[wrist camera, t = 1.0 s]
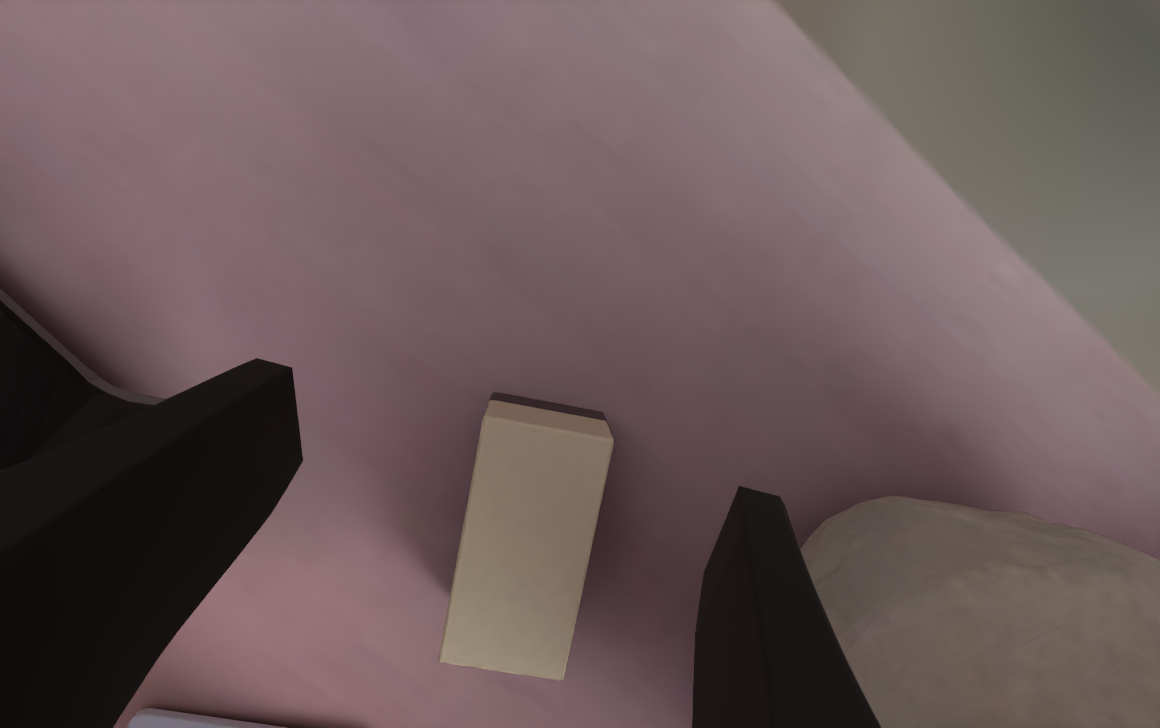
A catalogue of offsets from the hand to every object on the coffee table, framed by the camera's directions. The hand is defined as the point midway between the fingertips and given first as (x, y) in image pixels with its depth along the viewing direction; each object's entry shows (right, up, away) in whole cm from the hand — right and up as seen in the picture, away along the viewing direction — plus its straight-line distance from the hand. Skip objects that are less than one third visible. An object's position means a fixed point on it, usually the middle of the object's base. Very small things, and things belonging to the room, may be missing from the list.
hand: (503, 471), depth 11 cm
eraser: (0, -3, +11) cm, 11 cm away
